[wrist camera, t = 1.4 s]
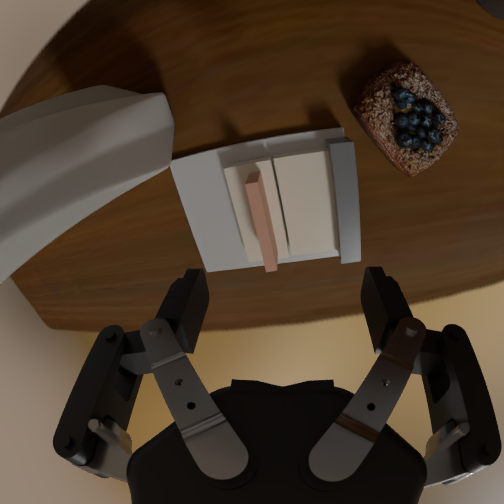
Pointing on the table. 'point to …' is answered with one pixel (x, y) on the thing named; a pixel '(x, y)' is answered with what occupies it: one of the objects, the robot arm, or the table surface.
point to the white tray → (290, 194)
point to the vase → (75, 162)
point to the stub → (258, 210)
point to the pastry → (406, 117)
